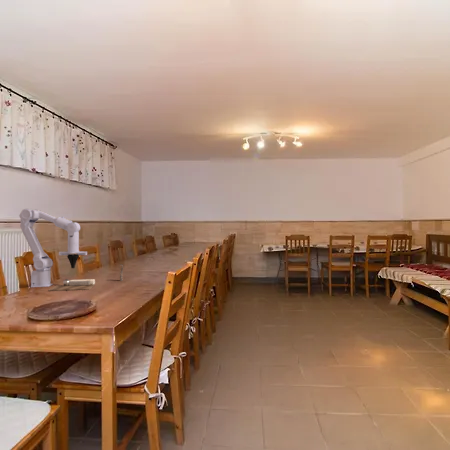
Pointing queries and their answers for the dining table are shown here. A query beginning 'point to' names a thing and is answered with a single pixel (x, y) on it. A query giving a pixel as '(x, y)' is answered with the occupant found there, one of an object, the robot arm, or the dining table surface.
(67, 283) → the swing bar
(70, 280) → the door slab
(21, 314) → the dining table surface
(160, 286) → the dining table surface
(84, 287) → the jamb plate
